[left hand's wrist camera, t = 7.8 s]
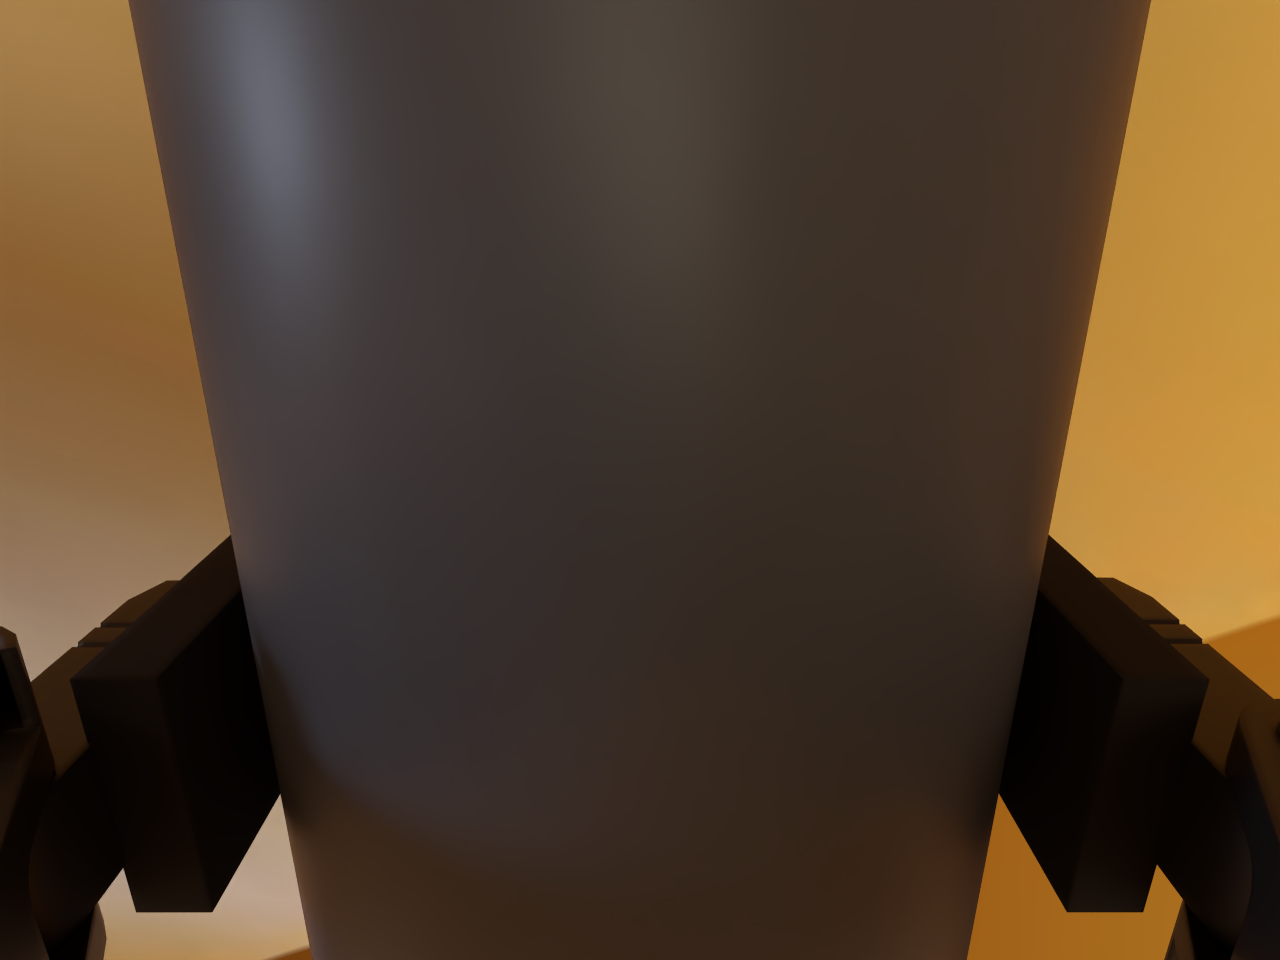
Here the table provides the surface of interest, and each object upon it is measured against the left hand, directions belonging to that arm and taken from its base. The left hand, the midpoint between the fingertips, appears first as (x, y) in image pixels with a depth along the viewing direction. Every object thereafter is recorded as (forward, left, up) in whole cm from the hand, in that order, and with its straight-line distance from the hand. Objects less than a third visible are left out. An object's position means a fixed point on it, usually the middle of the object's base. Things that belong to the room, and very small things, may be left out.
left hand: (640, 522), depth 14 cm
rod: (+6, +6, 0) cm, 8 cm away
